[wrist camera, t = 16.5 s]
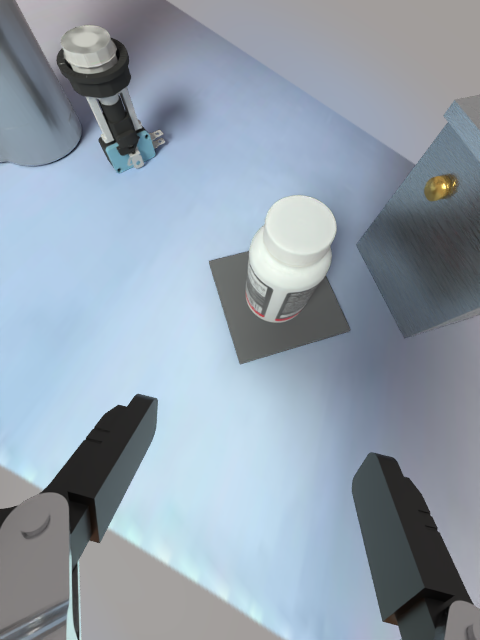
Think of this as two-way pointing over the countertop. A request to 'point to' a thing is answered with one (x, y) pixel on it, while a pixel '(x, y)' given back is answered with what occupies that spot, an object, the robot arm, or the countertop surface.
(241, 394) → the countertop surface
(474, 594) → the countertop surface
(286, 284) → the pill bottle
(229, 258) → the pad
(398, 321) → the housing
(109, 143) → the push button
